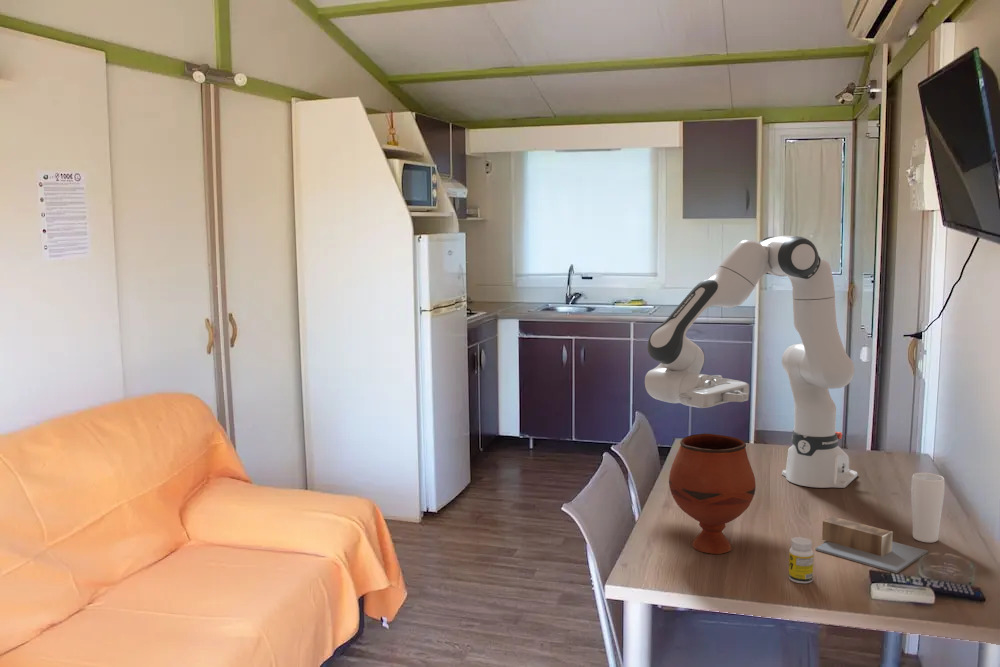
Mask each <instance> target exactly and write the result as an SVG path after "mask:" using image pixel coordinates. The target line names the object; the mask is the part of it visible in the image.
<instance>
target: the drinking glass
mask: <svg viewBox="0 0 1000 667" xmlns="http://www.w3.org/2000/svg"><path fill="white" fill-rule="evenodd" d="M910 484H911V487H910V488H911V491H910V493H911V494H910V497H911V516H912V537H913V539H915V541H918V542H922V543H926V544H927V543H931V544H932V543H936V542H938V540H939V536H940V535H939V533H940V532H939V531H940V523H941V518H942V517H941V516H942V512H943V506H944V497H945V478H944V477H943V476H942V475H939V474H936V473H931V472H915V473H913V474H912V476H911V483H910Z"/></svg>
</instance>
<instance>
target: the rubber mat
mask: <svg viewBox="0 0 1000 667" xmlns="http://www.w3.org/2000/svg"><path fill="white" fill-rule="evenodd" d="M815 551H818V552H821V553H824V554H827V555H831V556H835V557H839V558H842V559H845V560H849V561H852V562H856V563H860V564H863V565H866V566H870V567H873V568H877V569H881V570H883V571H886V572H891V573H895V574H897V573H899V572H901V571H902V570H904V569H905V568H907V567H908V566H910V565H912V563H914V562H916V561H917V560H919V559H920V558H922V557H924V556H925V555H926V554H928V550H927V549H923V548H919V547H915V546H911V545H907V544H903V543H899V542H895V541H892V551H891V552H890V553H888V554H886V555H885V556H883V557H882V556H879V555H875V554H871V553H868V552H864V551H861V550H857V549H853V548H850V547H846V546H843V545H839V544H836V543H832V542H828V541H824V542H823V543H822V544H820V545H818V546H816V547H815ZM921 556H922V557H921Z"/></svg>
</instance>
